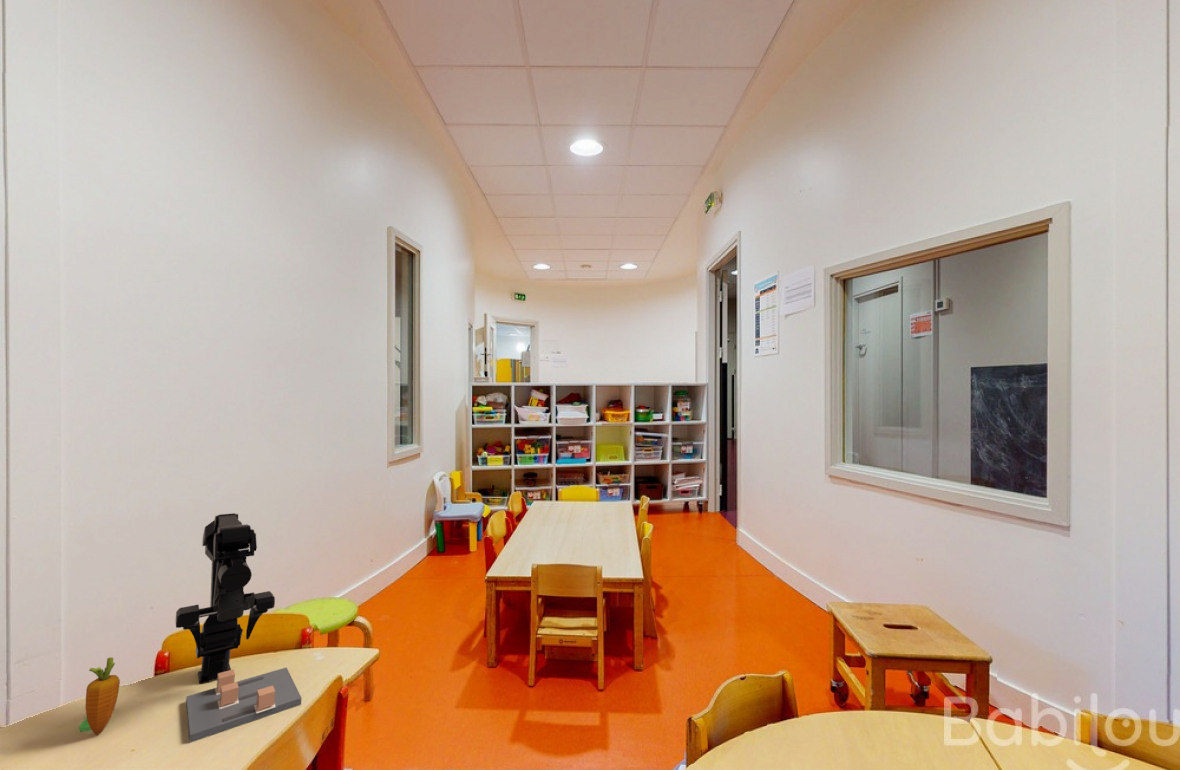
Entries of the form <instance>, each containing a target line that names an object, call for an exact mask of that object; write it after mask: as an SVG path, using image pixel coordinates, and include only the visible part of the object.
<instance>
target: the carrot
mask: <svg viewBox="0 0 1180 770" xmlns="http://www.w3.org/2000/svg"><path fill="white" fill-rule="evenodd" d="M115 664H116V663H115V662H114V657H111V656H110V657H108V658H107V659H106V667H104V669H103V668H102V667H100V666H98V667H96V668H95V667H90V668H89V670H88V671H89V672H92V673H93V674H94V675H96V676H97V678H96V679H94V680H92V681H90V683H88V685H87V687H86V694H85V714H86V717H87V721H88V724H89V726H90V728H91V730H90V731H91V732H92V733H93V734H94V735H95V736H99V735H100V734H101V733H103V731H104V729H105V728H106V727H107V725H108V724H109V721H110V720H111V718H112V715H113V713H114V711H115V707H116V704H117V701H118V695H119V691H120V683H121V680H120V678H119V676H118V675H116V674H111V671H112V669H113V668H114V666H115Z"/></svg>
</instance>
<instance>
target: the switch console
mask: <svg viewBox="0 0 1180 770" xmlns="http://www.w3.org/2000/svg"><path fill="white" fill-rule="evenodd" d="M236 682H237V683H238V687H239V689H238V700H237V701H235V702H232V703H229V704H226V705H222V706H221V704H220V692H218V690H217V686H216V687H214V688H210V689H207V690H204V691H201V692H196V693H193V694H189V695H186V697H185V708H186V709H185V710H186V719H187V721H186V722H187V730H188V741H189V743H192V742H196V741H199V740H202V739H204V738H207V737H210V736H215V735H216V734H218V733H221V732H222V733H223V732H225V731H228V730H230V729H234V728H237V727H239V726H242V725H244V724H248V723H252V722H254V721H257V720H261V719H263V718H266V717H268V716H271V715H274V714H278V713H280V712H283V711H285V710H289V709H292V708H295V707H297V706H301V705H302V695H301V694H300V691H299V690H298V688H297V686H296V684H295V682H294V679H293V678H292V675H291V673H290V672H289V669H288V667H283V668H279V669H277V670H273V671H269V672H265V673H262V674H259V675H255V676H252V677H248V678H244V679H242V680H238V681H236ZM272 685H273V687H274V689H275V701H274V705H272V706H269V707H266V708H263V709H260V710H258V708H257V705H256V700H257V690H259V689H263V688H266V687H269V686H272Z"/></svg>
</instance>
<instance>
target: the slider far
mask: <svg viewBox="0 0 1180 770" xmlns="http://www.w3.org/2000/svg"><path fill="white" fill-rule="evenodd" d="M235 675H236V674H235V671H234V669H231V670H229V671H225V672H222V673H218V678H217V679H216V680H217V681H216V687H217V690H218V692H220V691H221V686H224V685H227V684H230V683H234V682H235Z"/></svg>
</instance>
